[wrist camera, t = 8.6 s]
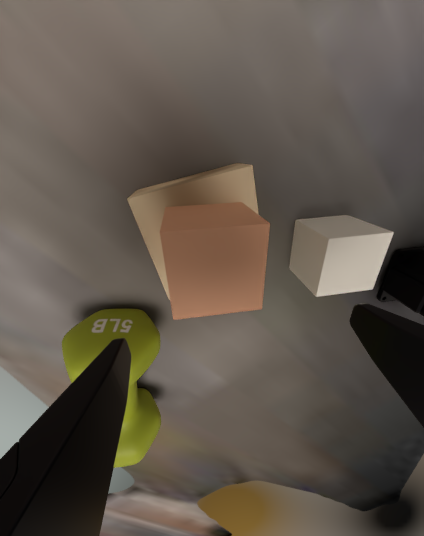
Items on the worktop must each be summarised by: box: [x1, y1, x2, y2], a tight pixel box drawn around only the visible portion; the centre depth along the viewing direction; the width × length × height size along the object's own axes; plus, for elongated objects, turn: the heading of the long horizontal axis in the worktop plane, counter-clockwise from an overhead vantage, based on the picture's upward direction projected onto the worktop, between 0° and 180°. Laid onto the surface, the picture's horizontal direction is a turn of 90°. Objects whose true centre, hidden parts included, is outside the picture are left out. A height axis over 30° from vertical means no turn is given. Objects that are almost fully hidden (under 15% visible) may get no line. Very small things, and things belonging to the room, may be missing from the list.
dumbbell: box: [62, 309, 161, 468], centre depth 22 cm, size 16×8×7 cm, turn 173°
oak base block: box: [127, 163, 266, 300], centre depth 17 cm, size 8×8×4 cm
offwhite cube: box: [289, 215, 394, 297], centre depth 19 cm, size 5×5×5 cm
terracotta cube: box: [160, 202, 270, 320], centre depth 13 cm, size 5×5×5 cm
